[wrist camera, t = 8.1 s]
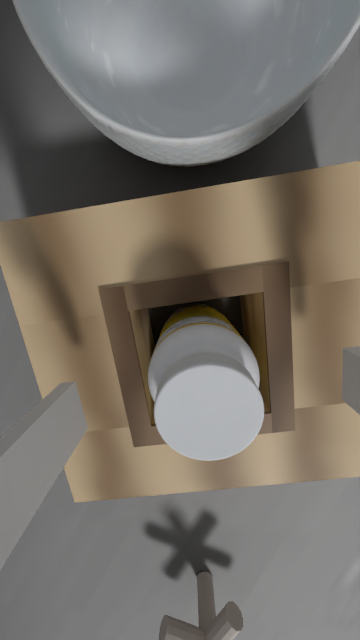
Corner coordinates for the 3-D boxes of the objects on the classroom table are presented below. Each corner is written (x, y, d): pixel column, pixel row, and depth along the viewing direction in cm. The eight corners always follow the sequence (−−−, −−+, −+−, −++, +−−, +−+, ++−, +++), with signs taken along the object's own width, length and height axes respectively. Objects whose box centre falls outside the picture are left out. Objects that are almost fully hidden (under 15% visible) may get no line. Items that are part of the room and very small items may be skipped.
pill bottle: (222, 373, 21) (261, 488, 10) (157, 361, 21) (125, 463, 10) (238, 309, 19) (304, 362, 9) (168, 295, 19) (146, 333, 8)
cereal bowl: (201, -192, 13) (219, -715, 6) (362, 61, 15) (505, -107, 8) (22, 59, 16) (-103, -102, 9) (181, 239, 18) (179, 221, 11)
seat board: (103, 442, 23) (73, 505, 17) (50, 238, 18) (-16, 223, 12) (324, 419, 22) (378, 477, 15) (323, 193, 17) (397, 153, 11)
